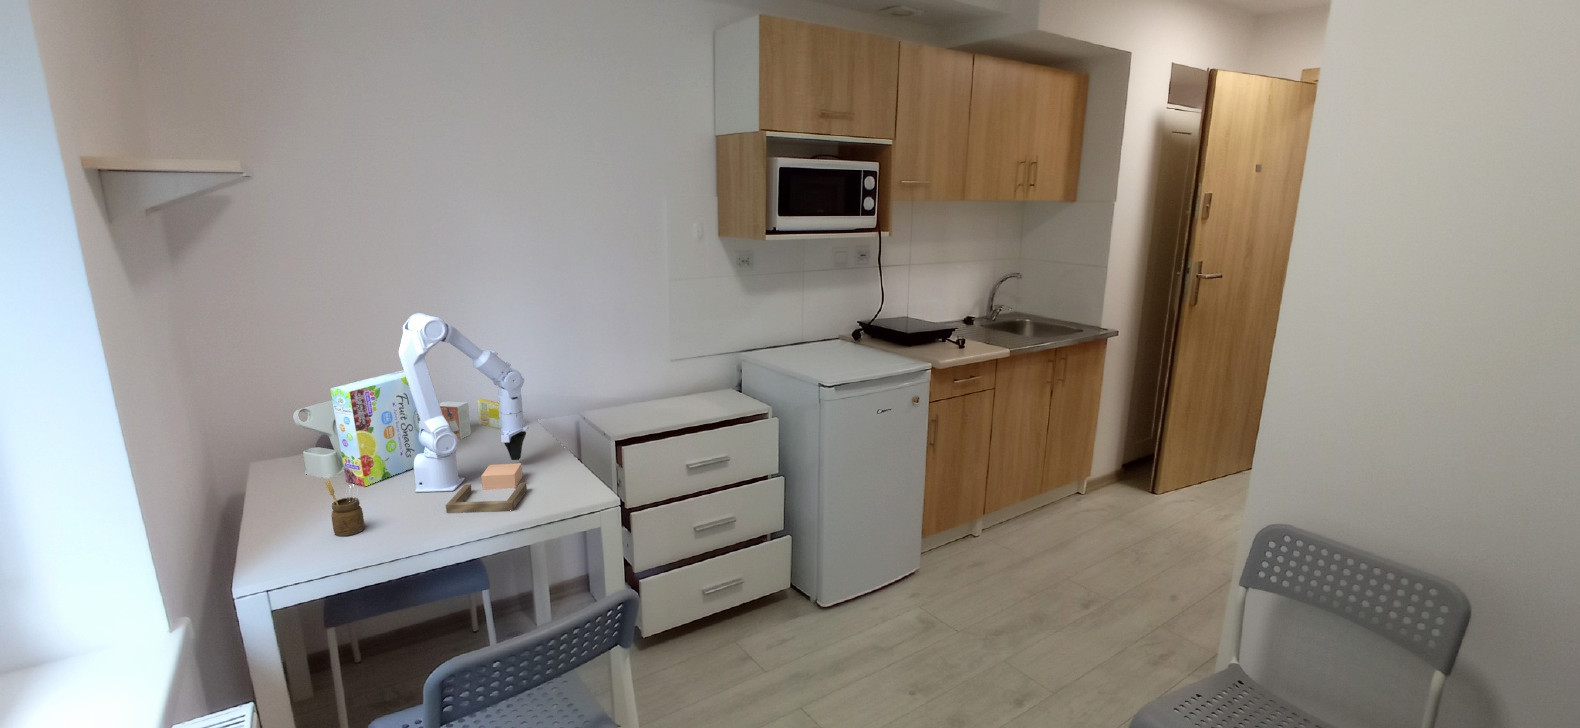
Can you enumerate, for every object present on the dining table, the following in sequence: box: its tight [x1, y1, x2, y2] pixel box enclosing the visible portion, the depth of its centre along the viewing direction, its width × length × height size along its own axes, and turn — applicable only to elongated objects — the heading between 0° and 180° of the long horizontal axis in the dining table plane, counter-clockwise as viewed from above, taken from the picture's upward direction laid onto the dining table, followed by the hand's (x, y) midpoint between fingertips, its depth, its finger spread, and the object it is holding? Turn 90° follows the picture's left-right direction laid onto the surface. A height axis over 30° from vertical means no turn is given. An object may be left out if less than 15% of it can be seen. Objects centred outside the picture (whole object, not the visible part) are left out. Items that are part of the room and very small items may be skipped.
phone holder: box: [292, 399, 345, 479], centre depth 200 cm, size 17×10×18 cm, turn 159°
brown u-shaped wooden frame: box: [445, 482, 528, 514], centre depth 178 cm, size 15×12×2 cm
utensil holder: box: [324, 478, 365, 537], centre depth 161 cm, size 6×6×12 cm
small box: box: [439, 400, 472, 440], centre depth 225 cm, size 8×6×10 cm
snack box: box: [329, 369, 425, 487], centre depth 195 cm, size 22×9×26 cm, turn 155°
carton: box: [480, 462, 523, 491], centre depth 189 cm, size 8×8×4 cm
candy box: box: [476, 398, 501, 430], centre depth 235 cm, size 16×2×8 cm, turn 58°
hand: (515, 459), depth 201 cm, fingers closed
